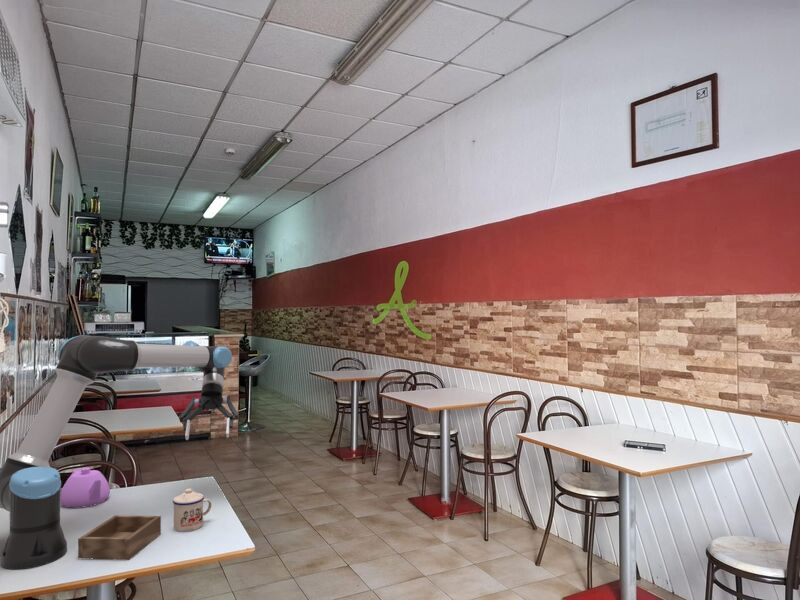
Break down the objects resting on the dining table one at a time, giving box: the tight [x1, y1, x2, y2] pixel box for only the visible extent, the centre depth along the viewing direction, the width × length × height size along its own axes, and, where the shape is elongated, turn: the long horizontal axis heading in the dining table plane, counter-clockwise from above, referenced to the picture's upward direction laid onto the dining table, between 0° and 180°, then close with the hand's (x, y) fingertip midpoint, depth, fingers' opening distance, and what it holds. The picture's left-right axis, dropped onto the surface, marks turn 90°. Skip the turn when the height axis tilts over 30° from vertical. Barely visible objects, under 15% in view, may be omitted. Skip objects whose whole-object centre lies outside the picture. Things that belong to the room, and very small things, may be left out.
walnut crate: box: [77, 515, 162, 561], centre depth 158 cm, size 14×17×6 cm
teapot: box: [60, 466, 111, 508], centre depth 197 cm, size 22×16×12 cm
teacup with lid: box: [172, 488, 213, 533], centre depth 173 cm, size 12×9×12 cm
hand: (207, 436), depth 192 cm, fingers open, 13 cm apart
